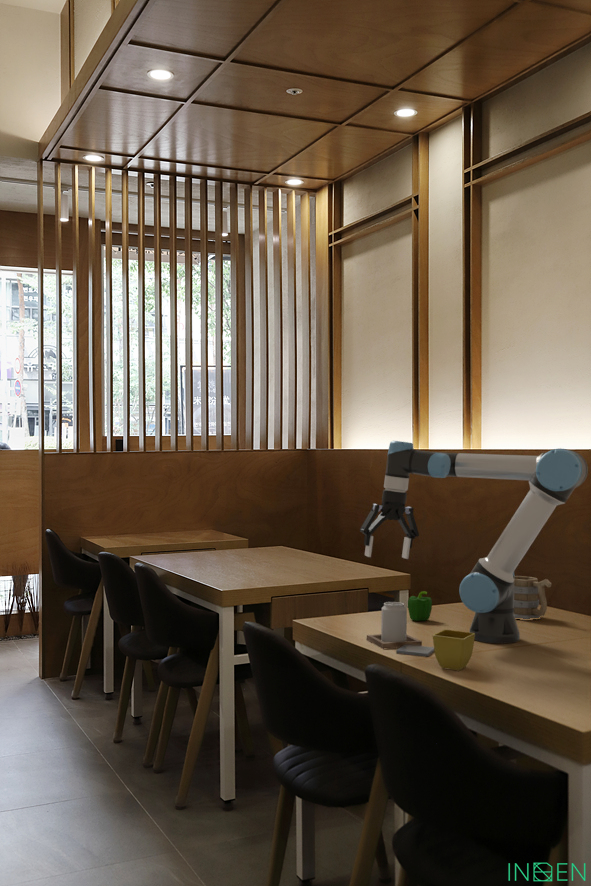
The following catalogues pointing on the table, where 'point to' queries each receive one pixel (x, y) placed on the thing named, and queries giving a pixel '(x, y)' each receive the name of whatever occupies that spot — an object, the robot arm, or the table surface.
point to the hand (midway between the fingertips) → (386, 557)
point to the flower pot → (453, 648)
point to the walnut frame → (377, 641)
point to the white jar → (393, 622)
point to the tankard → (529, 597)
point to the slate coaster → (415, 650)
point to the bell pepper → (419, 607)
